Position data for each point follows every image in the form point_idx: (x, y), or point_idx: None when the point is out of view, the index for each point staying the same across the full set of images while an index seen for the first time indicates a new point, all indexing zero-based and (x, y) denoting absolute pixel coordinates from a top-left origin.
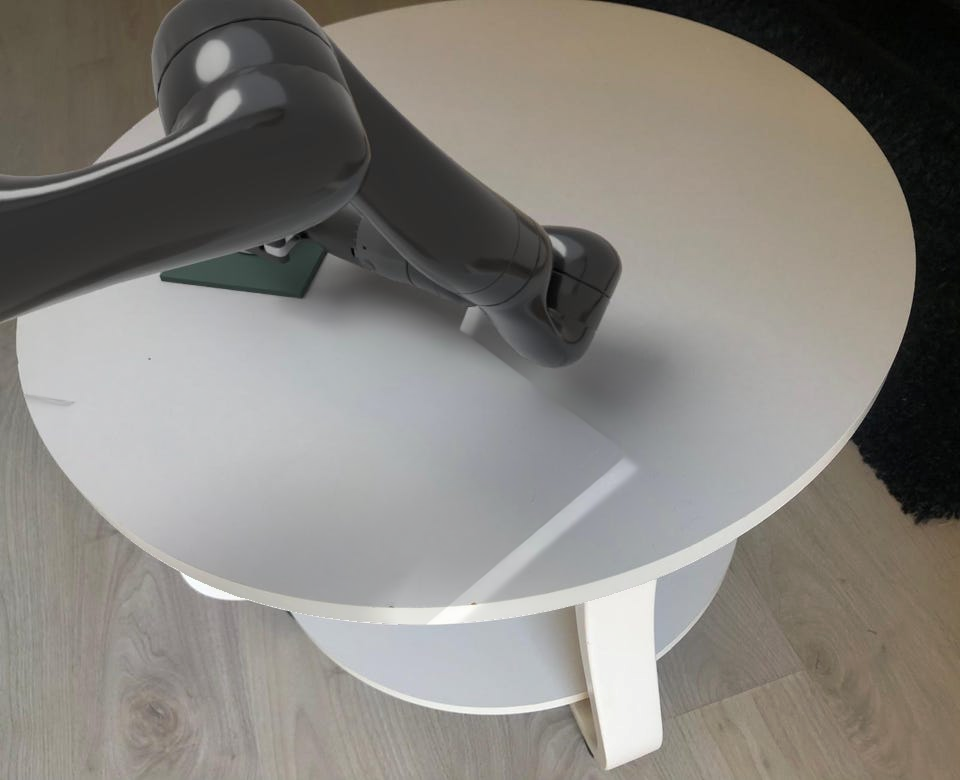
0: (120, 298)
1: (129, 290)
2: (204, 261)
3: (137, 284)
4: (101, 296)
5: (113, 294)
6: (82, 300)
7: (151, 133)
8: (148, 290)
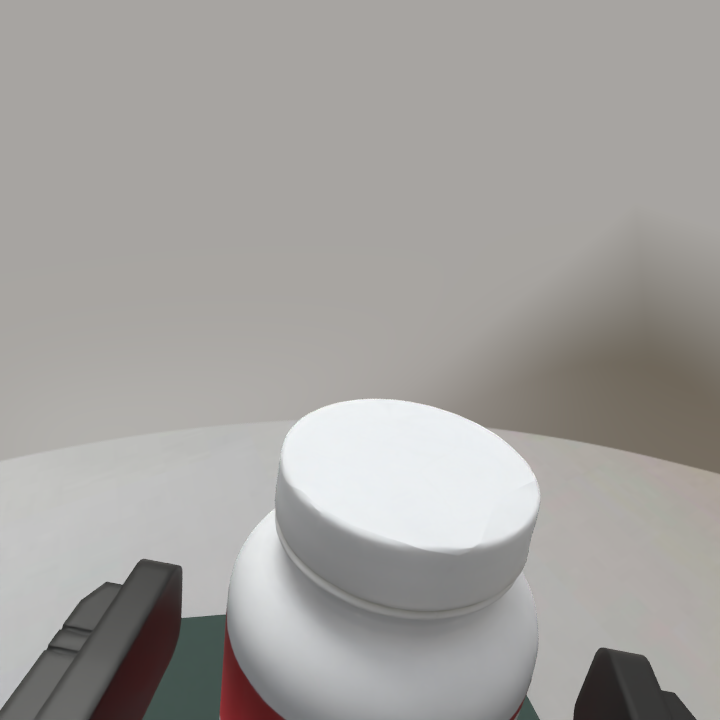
0: (14, 584)
1: (47, 589)
2: (160, 714)
3: (72, 594)
4: (27, 547)
5: (33, 565)
6: (16, 522)
7: (507, 442)
8: (44, 628)
